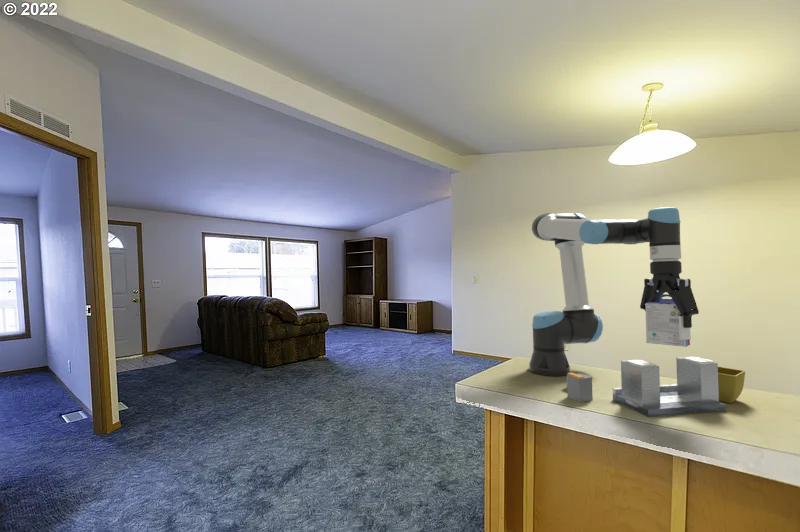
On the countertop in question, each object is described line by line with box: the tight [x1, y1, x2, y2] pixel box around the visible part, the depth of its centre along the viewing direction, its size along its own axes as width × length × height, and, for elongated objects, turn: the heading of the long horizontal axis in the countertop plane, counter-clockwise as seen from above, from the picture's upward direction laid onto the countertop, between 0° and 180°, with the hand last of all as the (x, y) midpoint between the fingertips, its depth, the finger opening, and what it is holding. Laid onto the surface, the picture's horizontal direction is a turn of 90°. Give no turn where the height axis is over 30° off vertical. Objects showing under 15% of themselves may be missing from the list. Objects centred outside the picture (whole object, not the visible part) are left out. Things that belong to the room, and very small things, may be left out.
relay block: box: [566, 371, 594, 403], centre depth 117 cm, size 5×5×8 cm
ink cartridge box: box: [645, 293, 691, 348], centre depth 109 cm, size 10×6×14 cm, turn 45°
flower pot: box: [718, 366, 746, 404], centre depth 114 cm, size 9×9×9 cm
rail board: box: [612, 356, 727, 418], centre depth 110 cm, size 14×24×13 cm, turn 97°
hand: (668, 336), depth 109 cm, fingers closed on ink cartridge box, 10 cm apart
